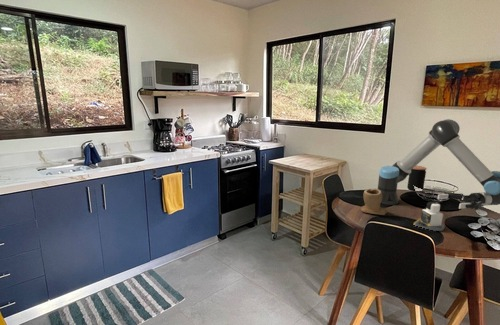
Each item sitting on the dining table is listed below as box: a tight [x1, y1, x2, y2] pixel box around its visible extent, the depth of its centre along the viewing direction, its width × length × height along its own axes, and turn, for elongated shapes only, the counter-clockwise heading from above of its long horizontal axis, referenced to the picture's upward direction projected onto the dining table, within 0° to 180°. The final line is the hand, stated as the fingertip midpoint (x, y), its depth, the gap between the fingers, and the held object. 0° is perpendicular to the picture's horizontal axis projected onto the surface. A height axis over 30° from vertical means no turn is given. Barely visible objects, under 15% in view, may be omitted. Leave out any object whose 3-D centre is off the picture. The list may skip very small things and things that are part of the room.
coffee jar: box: [406, 165, 428, 192], centre depth 218 cm, size 11×11×18 cm
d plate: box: [413, 216, 446, 232], centre depth 158 cm, size 13×13×2 cm
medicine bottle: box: [420, 201, 444, 226], centre depth 157 cm, size 7×7×12 cm
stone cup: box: [360, 188, 389, 216], centre depth 174 cm, size 15×12×15 cm
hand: (448, 201), depth 158 cm, fingers open, 13 cm apart
